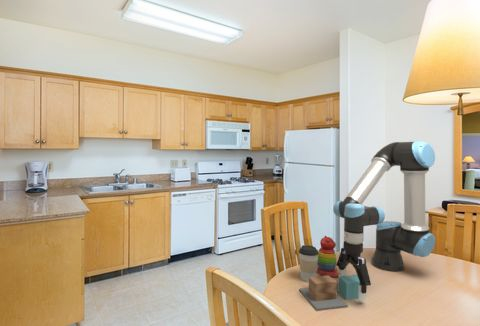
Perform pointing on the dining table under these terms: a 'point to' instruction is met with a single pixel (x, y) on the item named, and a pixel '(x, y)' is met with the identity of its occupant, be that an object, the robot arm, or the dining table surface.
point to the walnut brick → (322, 288)
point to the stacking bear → (327, 258)
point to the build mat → (325, 303)
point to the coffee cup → (308, 262)
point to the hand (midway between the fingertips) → (351, 292)
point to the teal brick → (348, 286)
